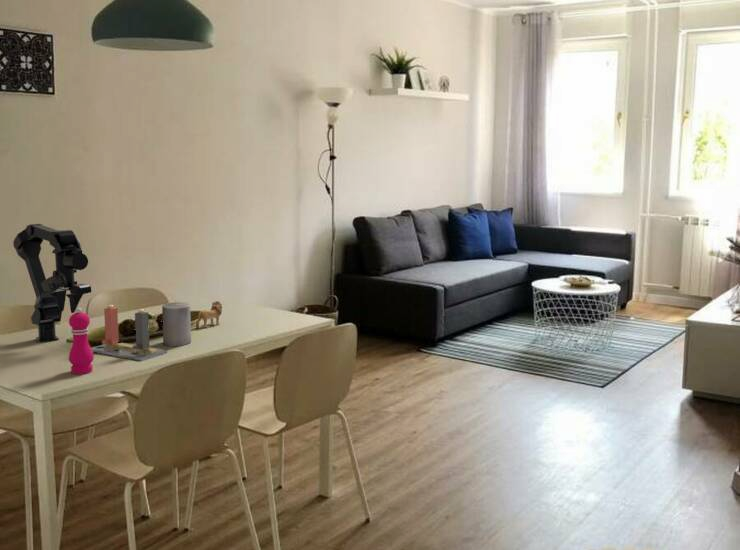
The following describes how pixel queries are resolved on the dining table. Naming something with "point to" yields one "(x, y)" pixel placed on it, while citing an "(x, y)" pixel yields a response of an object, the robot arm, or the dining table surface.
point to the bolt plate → (128, 351)
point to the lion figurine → (210, 314)
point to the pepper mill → (80, 344)
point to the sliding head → (111, 326)
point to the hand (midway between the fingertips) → (67, 312)
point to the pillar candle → (176, 324)
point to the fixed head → (141, 330)
